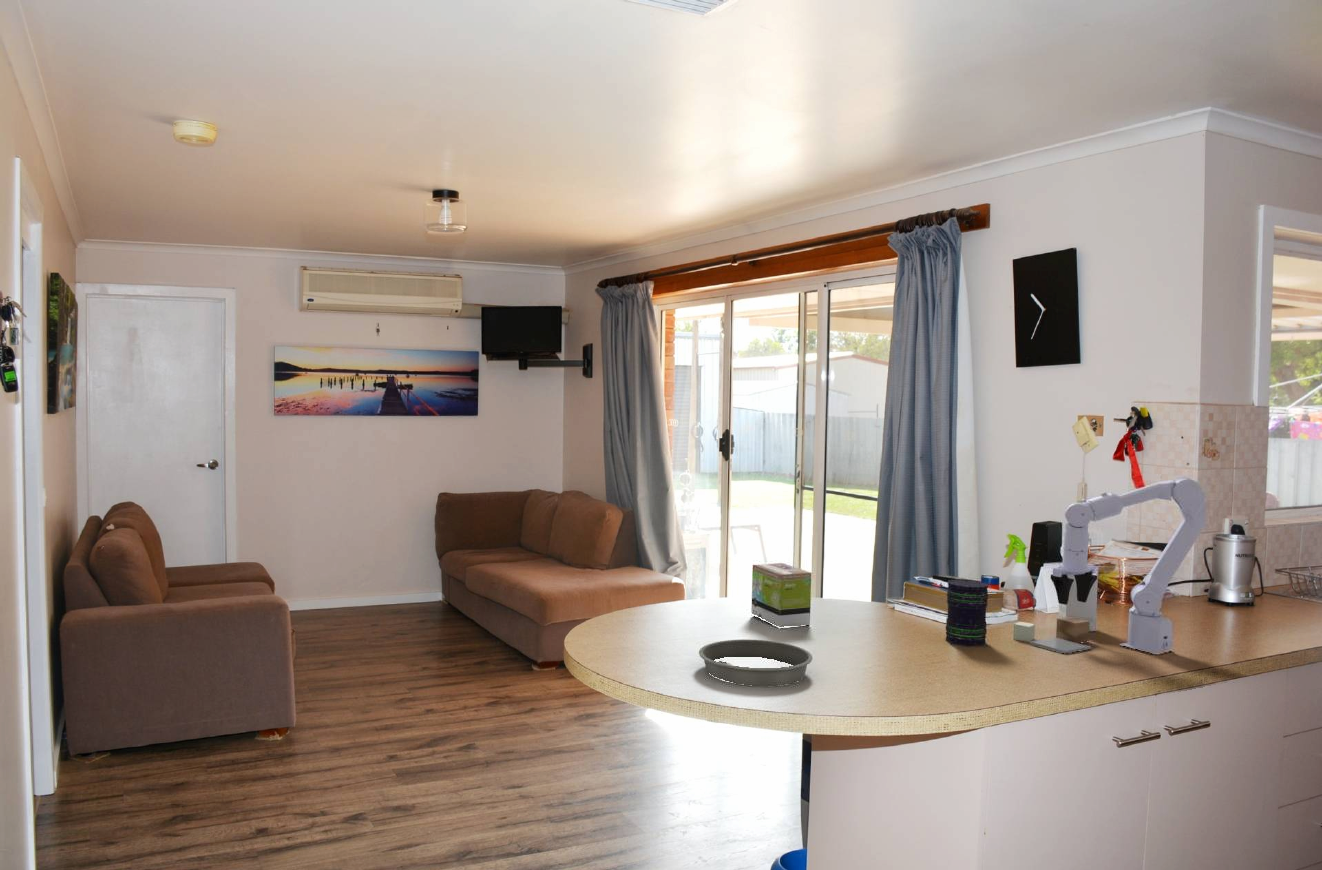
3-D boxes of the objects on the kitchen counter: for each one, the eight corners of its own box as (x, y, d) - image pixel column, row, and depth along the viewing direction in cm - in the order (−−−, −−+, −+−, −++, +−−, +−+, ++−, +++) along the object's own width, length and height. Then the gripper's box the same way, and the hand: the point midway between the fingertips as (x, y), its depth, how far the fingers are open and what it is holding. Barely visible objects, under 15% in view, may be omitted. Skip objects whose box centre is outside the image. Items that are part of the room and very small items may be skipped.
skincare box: (1088, 627, 259) (1090, 570, 259) (1097, 632, 253) (1099, 574, 252) (1056, 625, 260) (1059, 569, 260) (1064, 631, 254) (1067, 573, 253)
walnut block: (1088, 642, 242) (1089, 621, 242) (1074, 644, 239) (1075, 623, 239) (1069, 637, 247) (1070, 616, 247) (1056, 639, 244) (1056, 618, 244)
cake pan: (740, 652, 223) (740, 633, 223) (832, 673, 208) (833, 653, 208) (675, 673, 204) (676, 652, 204) (771, 698, 189) (772, 675, 189)
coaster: (1090, 649, 234) (1090, 646, 234) (1064, 654, 229) (1064, 651, 229) (1055, 640, 243) (1055, 637, 243) (1029, 644, 238) (1029, 641, 238)
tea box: (749, 617, 260) (751, 563, 259) (780, 614, 264) (782, 561, 263) (778, 629, 246) (780, 573, 246) (811, 627, 250) (813, 571, 250)
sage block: (1034, 639, 244) (1034, 624, 243) (1029, 642, 240) (1029, 626, 240) (1018, 636, 246) (1019, 621, 246) (1013, 639, 243) (1013, 624, 243)
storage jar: (988, 648, 233) (991, 588, 232) (947, 645, 235) (949, 585, 234) (983, 638, 243) (985, 580, 242) (943, 635, 244) (945, 578, 244)
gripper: (1079, 546, 250) (1076, 597, 250) (1043, 548, 242) (1040, 601, 243) (1104, 550, 244) (1100, 603, 244) (1067, 553, 236) (1064, 607, 237)
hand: (1072, 602), depth 243 cm, fingers open, 7 cm apart
